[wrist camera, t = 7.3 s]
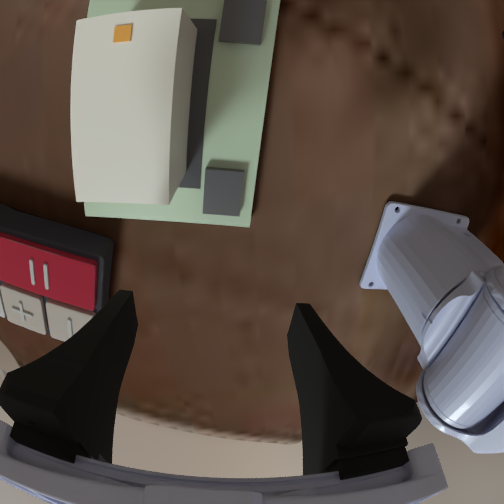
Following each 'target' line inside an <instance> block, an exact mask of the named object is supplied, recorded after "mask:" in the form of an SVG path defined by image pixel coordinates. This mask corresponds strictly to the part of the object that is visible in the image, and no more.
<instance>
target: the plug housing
mask: <svg viewBox="0 0 504 504" xmlns="http://www.w3.org/2000/svg"><path fill="white" fill-rule="evenodd" d="M196 37H197V28H196V26H195V25H194V24H193V22H192V21H191V20H190V18H189V17H188V15H187V14H186V13H185V11H184V10H183V9H182V8H165V9H150V10H138V11H129V12H121V13H114V14H107V15H101V16H96V17H90V18H85V19H81V20H77V23H76V30H75V39H74V48H73V60H72V75H71V146H72V162H73V175H74V185H75V194H76V202H106V203H135V204H157V205H169V204H170V202H171V200H172V198H173V196H174V194H175V192H176V190H177V188H178V186H179V185H180V183H181V181H182V179H183V177H184V175H185V173H186V162H187V141H188V124H189V110H190V97H191V85H192V74H193V64H194V54H195V46H196Z"/></svg>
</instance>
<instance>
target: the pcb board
mask: <svg viewBox="0 0 504 504" xmlns="http://www.w3.org/2000/svg"><path fill="white" fill-rule="evenodd" d="M279 6H280V0H90V3H89V9H88V15H87V18H90V17H96V16H101V15H107V14H114V13H121V12H129V11H138V10H150V9H165V8H182V9H183V10H184V11H185V13H186V14H187V15H188V17H189V18H190V20H191V21H192V22H193V24H194V25H195V26H196V28H197V37H196V46H195V54H194V64H193V74H192V85H191V97H190V110H189V124H188V141H187V162H186V173H185V175H184V177H183V179H182V181H181V183H180V185H179V186H178V188H177V190H176V192H175V194H174V196H173V198H172V200H171V202H170V204H169V205H157V204H135V203H106V202H84V208H85V216H92V217H111V218H129V219H145V220H160V221H175V222H189V223H203V224H216V225H229V226H241V227H250V220H251V212H252V205H253V197H254V190H255V182H256V174H257V167H258V159H259V152H260V144H261V137H262V129H263V122H264V114H265V107H266V100H267V92H268V85H269V78H270V70H271V63H272V56H273V49H274V41H275V34H276V27H277V20H278V13H279Z"/></svg>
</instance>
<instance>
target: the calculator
mask: <svg viewBox="0 0 504 504" xmlns="http://www.w3.org/2000/svg"><path fill="white" fill-rule="evenodd" d="M113 247H114V242H113V240H112V239H110V238H108V237H105V236H101V235H98V234H95V233H91V232H88V231H85V230H81V229H78V228H75V227H71V226H68V225H65V224H62V223H58V222H55V221H51V220H48V219H44V218H41V217H37V216H33V215H30V214H26V213H23V212H19V211H16V210H13V209H11V207H8V206H5V205H2V204H0V316H1V317H5V318H7V319H8V320H9V321H10V322H12V323H15V324H17V325H20V326H22V327H25V328H28V329H30V330H33V331H36V332H38V333H41V334H46V333H47V334H50V335H51V337H53V338H55V339H58V340H61V341H66V340H68V339H69V338H70V337H72V336H73V335H74V334H75V333H76V332H77V331H79V330H80V329H81V328H82V327H83V326H84V325H85V324H86V323H87V322H88V321H89V320H91V319H92V318H93V317H94V316H95V315H96V314H97V313H98V312H99V311H100V310H101V309H102V307H103V306H104V305H105V304H106V303H107V302H108V301H109V289H110V277H111V266H112V256H113Z"/></svg>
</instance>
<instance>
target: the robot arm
mask: <svg viewBox="0 0 504 504" xmlns="http://www.w3.org/2000/svg"><path fill="white" fill-rule="evenodd" d="M396 207H398V209H397V210H396V211H395V208H396ZM457 220H458V221H457ZM468 225H469V218H468V217H466V216H463V215H458V214H454V213H449V212H445V211H440V210H435V209H431V208H426V207H421V206H416V205H410V204H405V203H400V202H394V201H389V202H388V203H387V204H386V205H385V208H384V211H383V215H382V218H381V221H380V224H379V227H378V231H377V234H376V237H375V240H374V243H373V246H372V249H371V252H370V255H369V258H368V260H367V263H366V266H365V269H364V272H363V274H362V277H361V280H360V286H361V287H362V288H364V289H388V291H389V292H390V294H391V295H392V297H393V299H394V300H395V302H396V304H397V305H398V307H399V309H400V311H401V312H402V314H403V316H404V317H405V319H406V321H407V323H408V324H409V326H410V328H411V330H412V332H413V333H414V335H415V337H416V339H417V341H418V342H419V344H420V346H421V352H420V354H419V356H418V357H417V358H418V360H419V362H420V364H421V366H422V368H423V371H422V373H421V374H420V376H419V378H418V381H417V385H416V394H417V399H418V403H419V405H420V408H421V410H422V411H423V413H424V415H425V416H426V417H427V419H428V420H429V421H430V422H431V423H432V425H434V426H435V427H436V428H437V429H439V430H440V431H442V432H444V433H446V434H449V435H452V436H454V437H456V438H458V439H460V440H461V441H463V442H464V443H465V444H466V445H467V446H468V447H469V448H470V449H471V450H472V451H473V452H474V453H501V452H504V264H503V262H502V261H501V260H500V259H499V258H498V257H497V256H496V255H495V254H494V253H493V252H492V251H490V250H489V249H488V248H487V247H486V246H485V245H484V244H483V243H482V242H481V241H480V240H478V239H477V238H476V237H475V236H474V235H473V234H472V233H471V232H469V231H468V230H467V227H468ZM370 282H372V283H371V284H369V283H370ZM137 327H138V322H137V316H136V310H135V304H134V297H133V291H126V290H119V291H118V292H117V293H116V294H115V295H114V296H113V297H112V298H111V299H110V300H109V301H108V302H107V303H106V304H105V305H104V306H103V307H102V309H101V310H100V311H99V312H98V313H97V314H96V315H95V316H94V317H93V318H92V319H91V320H89V321H88V322H87V323H86V324H85V325H84V326H83V327H82V328H81V329H80V330H79V331H77V332H76V333H75V334H74V335H73V336H72V337H70V338H69V339H68V340H66V341H65V342H64V343H62V344H61V345H60V346H58V347H56V348H55V349H53V350H52V351H50V352H49V353H47V354H46V355H44V356H42V357H41V358H39V359H37V360H35V361H33V362H31V363H29V364H27V365H25V366H23V367H20V368H18V369H16V370H14V371H11V372H8V373H7V375H6V377H5V379H4V381H3V383H2V385H1V387H0V406H1V407H2V408H3V409H4V411H5V412H6V413H7V414H8V415H9V416H10V417H11V418H12V419H13V421H14V425H13V427H11V426H10V425H8V424H7V423H5V422H3V421H0V479H1V480H2V481H4V482H6V483H8V484H10V485H12V486H13V487H16V488H17V489H20V490H22V491H24V492H26V493H28V494H30V495H32V496H35V497H37V498H39V499H41V500H43V501H46V502H48V503H50V504H419V503H421V502H423V501H424V500H427V499H429V498H431V497H432V496H434V495H436V494H438V493H440V492H442V491H443V490H445V489H447V488H448V485H447V482H446V479H445V476H444V473H443V470H442V467H441V464H440V461H439V458H438V455H437V453H436V450H435V447H434V445H433V444H432V443H431V444H428V445H424V446H421V447H418V448H415V449H412V450H410V451H408V452H407V451H406V448H405V446H407V445H408V442H407V439H406V437H407V436H408V435H409V434H410V433H411V432H412V431H413V430H414V429H416V427H417V426H418V425H419V424H420V422H421V420H422V417H421V414H420V411H419V409H418V406H417V404H416V402H415V400H414V399H412V398H410V397H408V396H406V395H404V394H402V393H400V392H399V391H397V390H395V389H394V388H392V387H390V386H389V385H387V384H386V383H384V382H383V381H381V380H380V379H379V378H377V377H376V376H375V375H373V374H372V373H371V372H370V371H368V370H367V369H366V368H365V367H363V366H362V365H361V364H360V363H359V362H358V361H357V360H356V359H355V358H354V357H353V356H352V355H351V354H350V353H349V352H348V351H347V350H346V349H345V348H344V347H343V346H342V345H341V344H340V342H339V341H338V340H337V339H336V338H335V336H334V335H333V334H332V333H331V332H330V330H329V329H328V328H327V326H326V325H325V324H324V323H323V321H322V320H321V319H320V317H319V316H318V314H317V313H316V312H315V310H314V309H313V308H312V306H311V305H310V304H305V303H296V306H295V309H294V313H293V317H292V320H291V324H290V327H289V331H288V334H287V338H288V349H289V357H290V362H291V366H292V371H293V375H294V380H295V384H296V389H297V393H298V399H299V405H300V415H301V428H302V444H303V476H292V477H277V478H210V477H195V476H184V475H174V474H165V473H159V472H152V471H145V470H140V469H134V468H129V467H124V466H119V465H114V464H112V447H113V433H114V424H115V415H116V408H117V402H118V396H119V391H120V387H121V383H122V380H123V377H124V373H125V370H126V367H127V364H128V361H129V358H130V355H131V352H132V349H133V346H134V342H135V337H136V332H137Z"/></svg>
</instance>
